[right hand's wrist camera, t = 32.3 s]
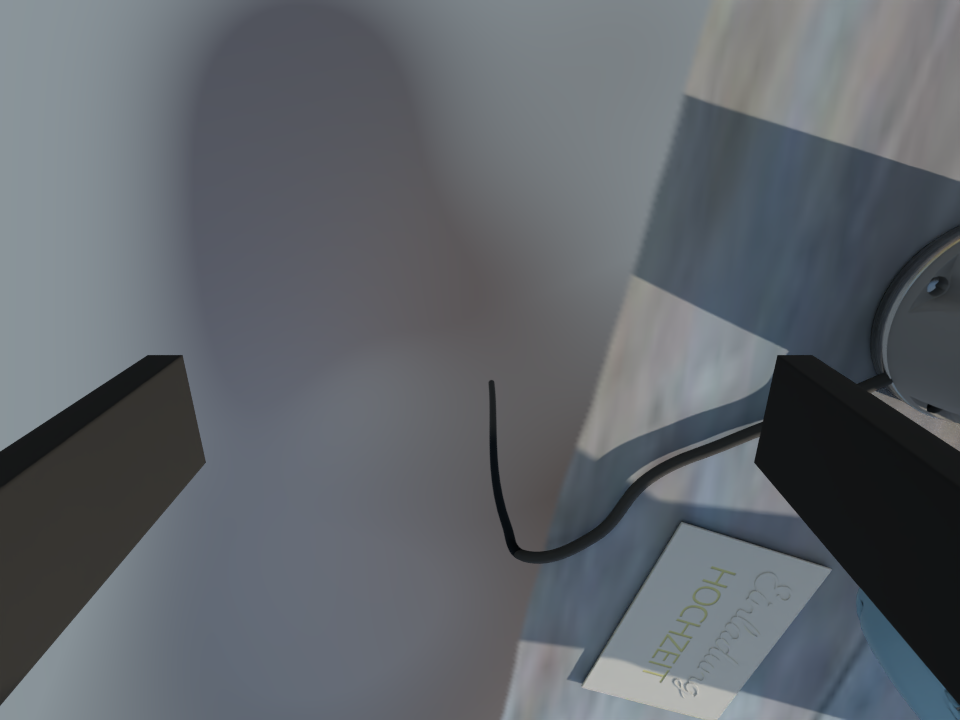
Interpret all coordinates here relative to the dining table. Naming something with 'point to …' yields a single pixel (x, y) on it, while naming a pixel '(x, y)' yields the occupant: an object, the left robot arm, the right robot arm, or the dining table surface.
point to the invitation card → (703, 622)
